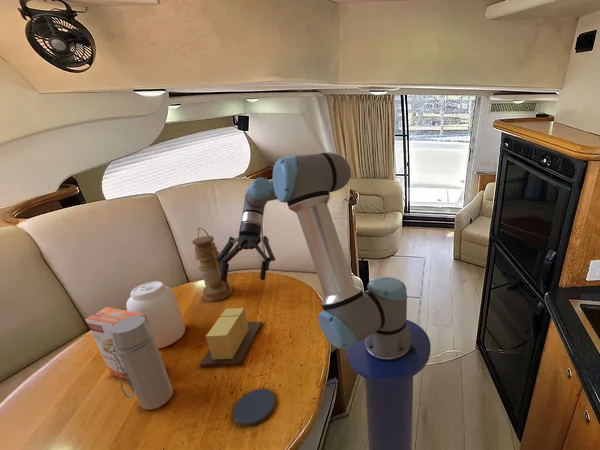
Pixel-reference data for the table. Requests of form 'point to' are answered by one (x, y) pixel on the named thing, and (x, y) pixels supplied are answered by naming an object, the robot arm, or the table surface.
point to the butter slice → (242, 317)
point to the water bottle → (141, 362)
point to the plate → (254, 407)
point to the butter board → (240, 352)
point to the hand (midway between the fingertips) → (242, 280)
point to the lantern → (210, 269)
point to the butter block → (225, 337)
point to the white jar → (158, 311)
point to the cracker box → (109, 335)
